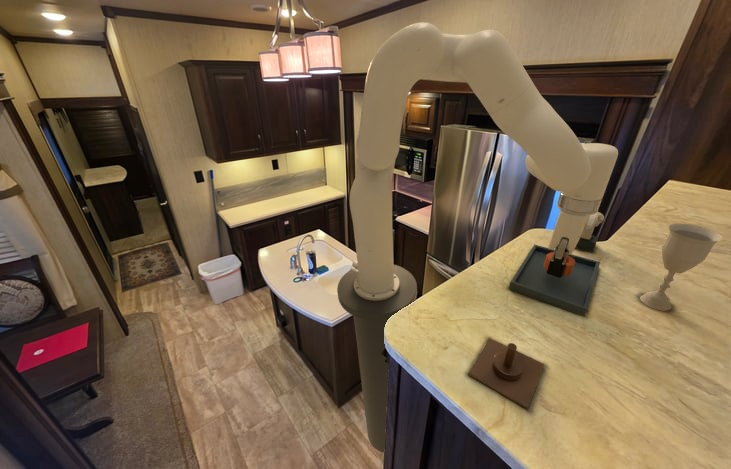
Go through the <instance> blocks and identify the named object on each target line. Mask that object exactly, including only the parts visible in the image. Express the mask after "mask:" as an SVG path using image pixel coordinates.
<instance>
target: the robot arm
mask: <svg viewBox="0 0 731 469" xmlns="http://www.w3.org/2000/svg"><path fill="white" fill-rule="evenodd" d="M366 73H367V74H366V78H365V82H364V89H363V90H364V91H363V97H362V105H361V111H360V122H359V128H358V135H357V139H356V153H357V160H356V169H355V178H354V180H353V182H352V185H351V188H350V193H349V209H350V215H351V220H352V226H353V235H354V236H353V237H354V242H355V243H354V244H355V253H356V260H354V261H353V262H352V267H350V268H349V271H350V272H352V273H355V274H356V279H355V281H354V289H355V292H356V293H357V294H358V295H359V296H360V297H362V298H364V299H367V300H372V301H379V300H385V299H388V298H390V297H392V296H394V295H395V294H396V293H397V292H398V290H399V287H400V281H399V278H398V277H397V276H396V275H395V274H394V265H395V264H394V234H393V233H394V230H393V178H394V176H393V175H394V171H395V164H396V159H397V157H398V154H399V152H400V147H401V142H400V141H401V133H402V126H403V120H404V114H405V111H406V106H407V100H408V96H409V95H410V92H411V90H412V88H413V86H414V85H415V84H416V83H417V82H418V81H420V80H425V81H436V82H449V83H466V84H468V86H469V88H470V89H471V90H472V92H473V94H474V95H475V96H476V97H477V99H478V100H479V102H480V103H481V105H482V106H483V108H485V110H486V111H487V113H488V115H489V116H490V118H491V119H492V121H493V122H494V124H495V125H496V126H497V127H498V128H499V129H500V130H501V131H502V132H503V134H505V135H506V136H507V137H509V138H510V139H511V140H512V141H513V142H515V143H516V144H517V145H518V146H520V148H521V149H522V150H523V151H524V152H525V153H526V154H527V155H526V157H525V168H526V169H527V171H528V172H529V174H531V176H533V177H534V178H536V179H538V180H539V181H540V182H542V183H543V184H545V185H546V186H547V187H548V188H550V189H551V190H553V191H555V192H560V193H559V197H558V200H557V204H556V207H557V209H558V210H559V213H558V216H557V218H556V222H555V225H554V228H553V231H552V233H551V238H550V240H549V243H548V246H547V248H549V250H554V254H553V257H552V259H551V260H550V263H549V266H548V270H547V274H549V275H552V276H555V277H559V278H561V277H562V275H563V272H564V269H565V266H566V263H565V262H566V259H567V257H568V255H569V256H570V255H571V254H572V255H573V252H574V250H575V249H576V248H575V247H576V245H577V243H578V241H579V239H580V237H581V235H582V232H583V230H584V227H585V225H586V222H587V219H588V217H589V215H594V214H596V213H597V212H599V208H600V206H601V203H602V201H603V197H604V195H605V193H606V190H607V186H608V184H609V182H610V178H611V177H612V173H613V170H614V167H615V165H616V162H617V160H618V155H619V150H618V148H617V147H616V146H613V145H611V144H606V143H599V142H587V143H581V142H580V140H579V138H578V137H577V135H576V134H575V133H574V131H573V130H572V129H571V127H570V126H569V124H568V123H567V122H565V121H564V119H563V118H562V117H561V116H560V115H559V114H558V113H557V112H556V110H555V108H553V107H552V105H551V104H550V103H549V102H548V101H547V100H546V99H545V97H543V96H542V94H541V93H540V91H539V90H538V88H537V87H536V85H535V84H534V82H533V80H532V78H531V77H530V75H529V74H528V72H527V70H526V69H525V67H524V66H523V64H522V61H521V60H520V58H519V57H518V56H517V53H516V52H515V51H514V49H513V47H512V46H511V44H510V42H509V41H508V39H507V38H506V37H505V35H503V34H502V32H500V31H498V30H496V29H484V30H480V31H478V32H475V33H473V34H456V33H455V34H454V33H453V34H452V33H442V32H441V30H440V29H439V28H438V27H437V26H436V25H434V24H433V23H431V22H425V21H424V22H423V21H422V22H421V21H419V22H415V23H412V24H410V25H407V26H404V27H403V28H401V29H399V30H398V31H396V32H394V34H392V35H390V36H389V37H388V38H387V39H386V40H385V41H384V42H383V43H382V45H381V46H380V47H379V48H378V49H377V51H376V53H375V55H374V56H373V58H372V60H371V61H370V65H369V67H368V69H367V72H366ZM563 254H565V256H564V257H563ZM355 268H357V269H355Z"/></svg>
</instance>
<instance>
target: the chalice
mask: <svg viewBox="0 0 731 469" xmlns="http://www.w3.org/2000/svg"><path fill="white" fill-rule="evenodd" d="M668 229H669V233H668V234H667V236H666V238H665V240H664V243H663V244H662V246H661V258H662V264H663V267H664V269H665V270H667V271H668V272H667V273H666V274H665V275H664V276H663V277H662V278H663V281H661V282H659V283H658V285H659V289H655V290H654V289H653V290H649V291H647V292H645V293H643V294H642V295H641V296H640V297H639V300H640V301H641V302H642V303H643V304H644V305H646V306H647V307H650V309H651V308H652V309H654V310H658V311H665V312H666V311H670V310H671V309H672V306H671V299H670V297H669V295H668V294H666V290H668V289H671V285H670V283H672V282H674V280H675V279H674V276H675V275H676V274H683V273H685V272H687V271H689V270H692V269H694V268H695V267H697V266H698V265H699V264H701V263H702V262H704V261H705V260H706V259H707V257H708V256H709V253H710V252H711V251H712V249H713V247H714V245H715V244H717V243H718V242H721V241H722V240H723V236H722V235H721V234H719V233H718V232H716V231H714V230H711V229H709V228H707V227H702V226H699V225H695V224H690V223H671V224H669V226H668Z"/></svg>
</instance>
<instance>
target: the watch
mask: <svg viewBox="0 0 731 469" xmlns="http://www.w3.org/2000/svg"><path fill="white" fill-rule="evenodd" d="M604 219H605V216H604V214H603V213H601V212H599V211H598V212H597V213H596V214H594V215H589V217H588V219H587V222H586V225H585V227H584V230H583V232H582V235H581V237H580V239H579V241H578V243H577V245H576V247H575V249H577V250H581V251H585V252H589V253H591V254H592V253H594V251H595V248H596V245H597V243H598V239H599V236H596V235H593V232H594V230H595V228H597V227H598V226H599V225H600V224H602V223H603V222H604Z"/></svg>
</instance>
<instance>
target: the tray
mask: <svg viewBox="0 0 731 469" xmlns="http://www.w3.org/2000/svg"><path fill="white" fill-rule="evenodd" d="M554 250H555V249H554ZM554 250H549V248H548V247H547V246H542V245H538V244H535V243H534V244H533V246H532V247H531V249H530V250H529V252H528V254H527V255H526V257H525V259H524V260H523V262H522V263H521V265H520V266H519V267H518V269H517V271H516V272H515V274H514V276H513V277H512V278H511V280H510V282H509V287H508V290H511V291H513V292H516V293H519V294H521V295H524V296H528V297H530V298H533V299H535V300H538V301H541V302H544V303H547V304H549V305H552V306H554V307H557V308H560V309H563V310H566V311H568V312H571V313H574V314H576V315H579V316H581V317H586V314H587V312H588V310H589V306H590V302H591V298H592V295H593V291H594V287H595V284H596V280H597V276H598V272H599V268H600V264H601V261H598V260H595V259H592V258H591V259H590V258H588V257H584V256H579V255H575V254H573V253H572V254H571V255H570V257H572V258H574V260H575V265H574V267H573V270H572V273H571V274H570V275H567V276H562V277H561V278H559V277H555V276H552V275H549V274H547V270H546V269H545V268H544V262H545V259H546V256H547V254H548V253H551V252H554Z"/></svg>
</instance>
